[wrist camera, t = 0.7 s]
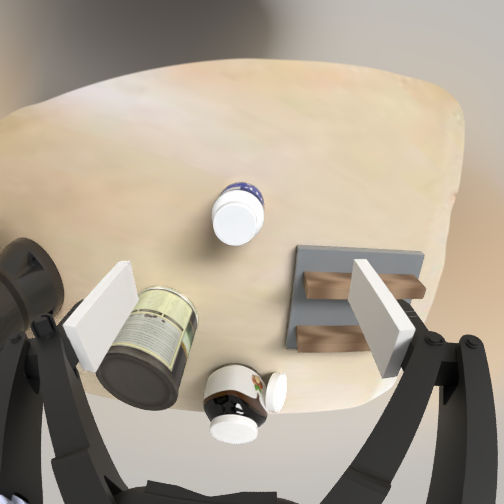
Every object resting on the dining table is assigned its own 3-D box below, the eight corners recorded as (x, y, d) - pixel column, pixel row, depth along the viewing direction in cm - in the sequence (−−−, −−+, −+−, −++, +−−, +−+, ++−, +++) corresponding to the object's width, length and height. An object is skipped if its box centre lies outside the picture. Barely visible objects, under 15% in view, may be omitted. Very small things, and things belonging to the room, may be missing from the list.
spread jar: (202, 368, 45) (189, 424, 34) (257, 341, 42) (255, 401, 31) (245, 403, 48) (242, 455, 38) (298, 382, 45) (303, 437, 35)
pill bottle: (272, 210, 34) (275, 236, 26) (234, 231, 35) (226, 262, 27) (249, 172, 32) (244, 185, 24) (211, 195, 33) (194, 215, 25)
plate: (285, 343, 42) (286, 348, 41) (297, 244, 36) (298, 248, 34) (392, 341, 42) (394, 345, 40) (420, 251, 35) (424, 255, 34)
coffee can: (211, 332, 42) (194, 407, 29) (156, 346, 43) (128, 413, 30) (178, 275, 38) (142, 344, 25) (122, 296, 40) (78, 358, 27)
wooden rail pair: (295, 333, 40) (297, 352, 36) (303, 271, 36) (308, 287, 32) (395, 331, 39) (404, 347, 36) (413, 274, 35) (426, 288, 32)
